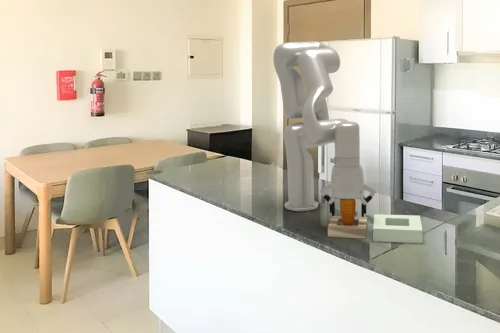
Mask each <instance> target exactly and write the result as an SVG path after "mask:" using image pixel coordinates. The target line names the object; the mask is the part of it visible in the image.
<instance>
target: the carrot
mask: <svg viewBox="0 0 500 333" xmlns="http://www.w3.org/2000/svg"><path fill="white" fill-rule="evenodd" d="M356 204H357V202H356V199H339V208H340V216H341V217H342V221H343V224H344V226H352V225H353V222H354V218H355V217H356Z"/></svg>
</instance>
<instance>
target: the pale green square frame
mask: <svg viewBox="0 0 500 333" xmlns="http://www.w3.org/2000/svg"><path fill="white" fill-rule="evenodd" d="M423 232H424V231H423V226H422V220H421V216H420V215H417V214H416V215H411V214H409V215H408V214H379V213H378V214H376V213H375V214H374V215H373V227H372V242H381V243H383V242H384V243H385V242H386V243H405V244H423V235H424V234H423Z"/></svg>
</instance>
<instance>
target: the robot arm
mask: <svg viewBox="0 0 500 333" xmlns="http://www.w3.org/2000/svg"><path fill="white" fill-rule="evenodd" d="M272 58H273V60H272V61H273V66H274V70H275V72H276V75H277V78H278V80H279V84H280V85H279V86H280V91H281V98H282V105H283V106H282V107H283V112H284V115H285V116H286V117H287V118H288V119H291V120H297V119H302V121H299V122H294V123H290V124H288V125H286V126H285V128H284V129H283V141H284V147H285V151H286V165H287V166H286V167H287V168H286V169H287V195H288V196H287V197H288V201H285V203H284V208H285V209H286V210H289V211H293V212H308V211H313V210H316V209H318V208H319V202H318V201H316V200H315V191H314V190H315V186H314V184H315V183H314V182H315V181H314V160H313V157H312V155H311V154H310V153H309V151H308V149H309V148H316V147H317V148H318V147H322V146H326V145H328V144H334V157H332V158H331V157H330V158H329V161H330V163H332V164H333V165H332V169H331V175H330V184H328V185H326V186H324V187H322V188H321V189H320V191H319V192H320V194H321V195H322V196H323V198H324V200H325V201H327V203H328V204H329V213H330V214H331V216H336V215H335V214H336V204H335V203H336V202H335V200H340V199H355V200H359V201H360V202H361V208H360V209H361V210H360V211H361V214H360V217H365V215H367V204H368V203H369V202H371V200H372V199H373V198H374V196H375V194H376V192H377V190H376V189H374V188H372V187H371V186H369V185H367V184H366V183H365V176H364V170H363V166H362V165H361V164H360V163H361V161H360V160H361V157H360V155H361V154H360V148H361V147H360V146H361V145H360V143H361V142H360V141H361V140H360V125H359V123H358V122H356V121H349V120H347V119H345V118H335V119H332V118H331V119H330V117H329V110H328V102H327V99H326V98H328V97H329V96H330V95H331V94H332V92H333V91H334V87H333V84H332V80H331V77H330V74H334V73H336V72H338V71H339V69H340V67H341V59H340V55H339V54H338V51H336V49H334V48H333V47H332V46H330V45H327V44H325V43H323V42H322V41H321V42H320V41H315V40H312V41H311V40H310V41H289V42H284V43H281V44H279V45H277V46H276V47H275V49H274V52H273V57H272ZM296 67H298V69H299V71H298V70H297V69H296ZM327 191H330V195H328V193H327ZM365 191H367V192H369V194H368V195H367V196H365Z"/></svg>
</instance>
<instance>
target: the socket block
mask: <svg viewBox="0 0 500 333" xmlns="http://www.w3.org/2000/svg"><path fill="white" fill-rule="evenodd" d="M367 230H368V217H366V216H364V217H362V216H355V218H354V222H353V225H352V226H344V224H343V221H342V217H341V215H340V216H339V215H334V216H332V215H331V217H330V220H329V222H328V226H327V237H329V238H347V239H348V238H351V239H367V232H368V231H367Z"/></svg>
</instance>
